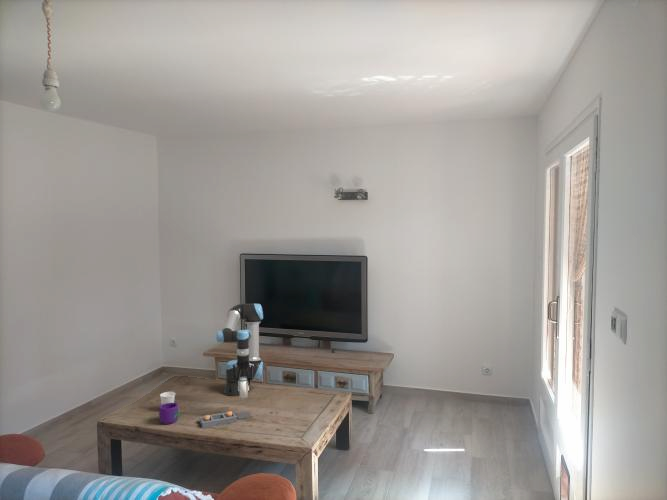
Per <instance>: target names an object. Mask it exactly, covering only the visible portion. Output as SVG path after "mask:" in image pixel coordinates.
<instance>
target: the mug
mask: <svg viewBox="0 0 667 500" xmlns="http://www.w3.org/2000/svg"><path fill="white" fill-rule="evenodd" d="M158 414H159V415H158V416H159V421H160V423H162V424H163V425H171V424H174V423H176V422H178V418H179V404H178V402H175V401H174V403H166V404H162V403H161V405H159V407H158Z"/></svg>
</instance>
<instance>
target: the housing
mask: <svg viewBox="0 0 667 500" xmlns="http://www.w3.org/2000/svg"><path fill="white" fill-rule="evenodd" d="M231 411H232V417H226V412H227V411H224V412H220V413H213V414H209V415H210V420H209V421H204V416H205V415H201V416H199V417H198V418H199V420H198V421H199V424H200V425H201V427H202V429H204V428H209V427H210V428H211V427H216V426H221V425H226V424H232V423H238V418H237V416H236V415H235V414H236V413H235V412H234V411H233V410H231Z"/></svg>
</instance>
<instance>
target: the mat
mask: <svg viewBox="0 0 667 500" xmlns="http://www.w3.org/2000/svg"><path fill="white" fill-rule="evenodd" d="M234 414H235V415H236V416H237V420H243V419H244V420H245V419H249V418H253V417H254V416H253V415H252V414H251V412H250V411H245V412H244V411H243V412H240V413H234Z"/></svg>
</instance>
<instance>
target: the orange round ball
mask: <svg viewBox="0 0 667 500" xmlns="http://www.w3.org/2000/svg"><path fill="white" fill-rule="evenodd" d="M210 415H211V414H205V415H203V416H204V421H209V420H210Z"/></svg>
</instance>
